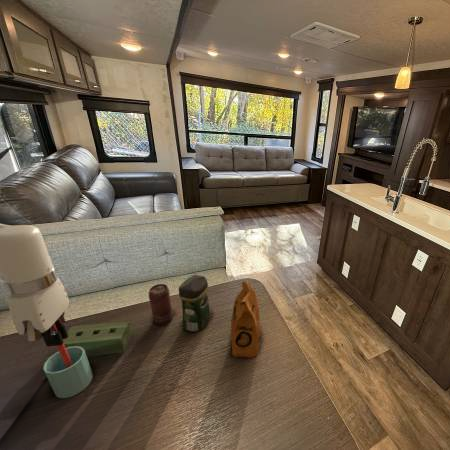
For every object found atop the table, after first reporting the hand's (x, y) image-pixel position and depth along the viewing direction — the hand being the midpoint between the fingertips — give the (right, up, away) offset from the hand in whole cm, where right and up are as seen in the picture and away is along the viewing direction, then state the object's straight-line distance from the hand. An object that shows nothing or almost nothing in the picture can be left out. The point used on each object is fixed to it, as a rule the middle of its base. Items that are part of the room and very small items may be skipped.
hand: (58, 341), depth 61 cm
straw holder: (-3, -10, +17) cm, 20 cm away
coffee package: (+42, -12, +23) cm, 49 cm away
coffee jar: (+22, -7, +29) cm, 38 cm away
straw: (0, -8, +3) cm, 9 cm away
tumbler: (-2, -14, +6) cm, 16 cm away
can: (+10, -6, +29) cm, 31 cm away
